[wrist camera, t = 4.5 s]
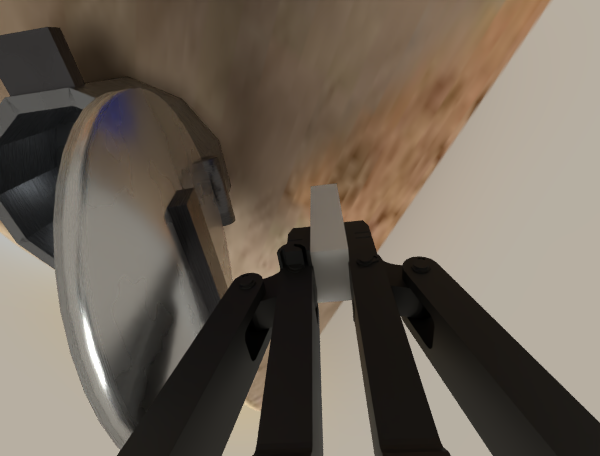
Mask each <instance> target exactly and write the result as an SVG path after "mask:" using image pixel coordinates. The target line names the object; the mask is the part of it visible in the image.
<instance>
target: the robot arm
mask: <svg viewBox="0 0 600 456" xmlns="http://www.w3.org/2000/svg"><path fill="white" fill-rule="evenodd" d="M277 256H278V260H279V265H280V272H279V273H277V274H275V275H273V276H271V277H268V278H265V279H262V276H260V275H259V274H256V273H247V274H243V275H241V276H239V277H237V278H236V279H235V280H234V281H233V282H232V283H231V285H230V286H229V288H228V289H227V291H226V292H225V294H224V295H223V297H222V299H221V300H220V302H219V303H218V305H217V306H216V308H215V309H214V311H213V312H212V314H211V315H210V317H209V318H208V320H207V321H206V323H205V324H204V326H203V327H202V329H201V330H200V332H199V333H198V335H197V336H196V338H195V339H194V341H193V342H192V344H191V345H190V347H189V348H188V350H187V351H186V353H185V354H184V356H183V357H182V359H181V360H180V362H179V363H178V365H177V366H176V368H175V369H174V371H173V372H172V374H171V375H170V377H169V378H168V380H167V381H166V383H165V384H164V386H163V387H162V389H161V390H160V392H159V393H158V395H157V396H156V398H155V399H154V401H153V402H152V404H151V405H150V407H149V408H148V410H147V411H146V413H145V414H144V416H143V417H142V419H141V420H140V422H139V423H138V425H137V426H136V428H135V429H134V431H133V432H132V434H131V435H130V437H129V438H128V440H127V441H126V443H125V444H124V446H123V447H122V449H121V450H120V452H119V453H118V455H117V456H222V453H223V451H224V448H225V446H226V444H227V441H228V439H229V437H230V434H231V432H232V430H233V427H234V425H235V423H236V420H237V418H238V415H239V413H240V411H241V408H242V406H243V404H244V401H245V399H246V396H247V394H248V392H249V389H250V387H251V384H252V382H253V380H254V377H255V375H256V373H257V370H258V368H259V365H260V363H261V361H262V358H263V356H264V354H265V351H266V349H267V346H268V344H269V342H270V339H271V342H270V350H269V357H268V365H267V372H266V379H265V387H264V394H263V401H262V409H261V417H260V424H259V431H258V439H257V445H256V451H255V453H254V455H252V456H323V432H322V398H321V368H320V367H321V366H320V331H319V309H318V303H321V302H333V301H346V300H352V305H353V318H354V322H355V327H356V334H357V340H358V347H359V354H360V360H361V367H362V374H363V380H364V387H365V393H366V401H367V407H368V414H369V420H370V427H371V434H372V440H373V447H374V454H375V456H450V453H449V452H448V451H447V450H446V449H445V448H444V447H443V446H442V444H441V441H440V438H439V436H438V433H437V430H436V426H435V423H434V420H433V417H432V414H431V411H430V408H429V404H428V402H427V398H426V395H425V392H424V389H423V386H422V383H421V379H420V376H419V373H418V370H417V367H416V364H415V361H414V358H413V354H412V351H411V348H410V345H409V342H408V339H407V336H406V333H405V329H404V327H403V324H402V320H403V321H404V323H405V324H406V326H407V327H408V329H409V330H410V332H411V333H412V335H413V336H414V338H415V339H416V341H417V342H418V344H419V345H420V347H421V348H422V350H423V351H424V353H425V354H426V356H427V357H428V359H429V360H430V362H431V363H432V365H433V366H434V368H435V369H436V371H437V372H438V374H439V375H440V377H441V378H442V380H443V381H444V383H445V384H446V386H447V387H448V389H449V390H450V392H451V393H452V395H453V396H454V398H455V399H456V401H457V402H458V404H459V406H460V407H461V409H462V410H463V411H464V413H465V414H466V416H467V418H468V419H469V421H470V422H471V423H472V425H473V427H474V428H475V430H476V431H477V432H478V434H479V436H480V437H481V439H482V440H483V442H484V443H485V444H486V446H487V448H488V449H489V450H490V452H491V454H492V455H493V456H600V423H599V422H598V421H597V420H596V419H595V418H594V417H593V416H592V415H591V414H590V413H589V412H588V411H587V410H586V409H585V408H584V407H583V406H582V405H581V404H580V403H579V402H578V401H577V400H576V399H575V398H574V397H573V396H572V395H571V394H570V393H569V392H568V391H567V390H566V389H565V388H564V387H563V386H562V385H561V384H560V383H559V382H558V381H557V380H556V379H555V378H554V377H553V376H551V374H549V373H548V372H547V371H546V370H545V369H544V368H543V367H542V366H541V365H540V364H539V363H538V362H537V361H536V360H535V359H534V358H533V357H532V356H531V355H530V354H529V353H528V352H527V351H526V350H525V349H524V348H523V347H522V346H521V345H520V344H519V343H518V342H517V341H516V340H515V339H514V338H513V337H512V336H511V335H510V334H509V333H508V332H507V331H506V330H505V329H503V327H502V326H501V325H500V324H499V323H498V322H496V320H495V319H493V318H492V317H491V316H490V315H489V314H488V313H487V312H486V311H485V310H484V309H483V308H482V307H481V306H480V305H479V304H478V303H477V302H476V301H475V300H474V299H473V298H472V297H471V296H470V295H469V294H468V293H467V292H466V291H465V290H464V289H463V288H462V287H461V286H460V285H459V284H458V283H457V282H456V281H455V280H454V279H453V278H452V277H451V276H450V275H449V274H448V273H447V272H446V271H445V270H443V268H441V266H440V265H438V264H437V263H436V262H435V261H433V260H432V259H429V258H426V257H411V258H409V259H407V260H406V261H405V262H404V263H403V265H395V264H390V263H387V262H385V261H383V260H382V259H381V257H380V256H379V255H378V254H377V252H376V248H375V245H374V242H373V239H372V236H371V232H370V229H369V226H368V225H367V224H366V223H365V222H364V221H363V220H362V221H352V222H343V217H342V211H341V205H340V200H339V194H338V188H337V183H336V184H328V185H319V186H311V221H310V227H303V228H293V229H292V230H291V232H290V233H289V234H288V242H287V244H286V245H283V246H282V247H281V248H279V250H278V252H277ZM400 316H401V317H402V320H401V317H400Z"/></svg>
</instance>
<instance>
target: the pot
mask: <svg viewBox="0 0 600 456" xmlns="http://www.w3.org/2000/svg"><path fill="white" fill-rule="evenodd" d="M0 79H1V80H2V82H3V84H4V86H5V87H6V89H7V91H8V93H9V94H10V96H11V97H5V98H4V99H3V101H2V102H1V104H0V220H1V221H2V223H3V224H4V226H5V227H6V228H7V230H8V231H9V233H10V234H11V235H12V237H13V238H14V239H15V241H16V242H17V243H18V244H19V245H20V246H22V247H23V248H25V249H26V250H28V251H29V252H31V253H32V254H33V255H35V256H36V257H38V258H39V259H41V260H42V261H44V262H45V263H46V264H48V265H49V266H51V267H52V268H54V269H55V267H54V237H53V218H54V205H55V192H56V183H57V178H58V173H59V168H60V163H61V158H62V153H63V150H64V148H65V145H66V142H67V139H68V137H69V134H70V131H71V129H72V127H73V125H74V123H75V122H76V120H77V119H78V117H79V115H80V114H81V112H82V110H83V109H84V108H85V107H86V106H87V105H88V104H89V103H90V102H91V101H93V100H94V99H95V98H96V97H99V96H101V95H103V94H105V93H107V92H113V91H120V90H126V89H134V88H142V89H145V90H149V91H151V92H153V93H154V94H156V95H158V96H159V97H160V98H161V99H162V100H164V101H165V102H166V103H167V104H168V105H169V106H170V107H171V109H172V110H173V111H174V112H175V113H176V115H177V116H178V117H179V119H180V120H181V122H182V123H183V125H184V126H185V128H186V130H187V131H188V133H189V135H190V137H191V139H192V141H193V142H194V144H195V146H196V148H197V151H198V153H199V155H200V157H201V159H202V162H203V164H204V167H205V169H206V172H207V175H208V177H209V180H210V183H211V186H212V189H213V192H214V195H215V198H216V202H217V205H218V209H219V212H220V216H221V220H222V224H223V226H226V225H229V224H232V223H233V222H234V221H235V216H234V212H233V209H232V205H231V201H230V198H229V191H230V187H231V184H230V180H229V177H228V173H227V169H226V166H225V162H224V158H223V154H222V151H221V147H220V143H219V140H218V139H217V138H216V137H215V136H214V135H213V134H212V132H211V131H210V130H209V129H208V128H207V127H206V126H205V125H204V124H203V122H202V121H201V120H200V119H199V118H198V117H197V116H196V115H195V113H194V112H193V111H192V110H191V109H190V108H189V107H188V106H187V105H186V103H185V102H184V101H183V100H182V99H181V98H178V97H176V96H173V95H171V94H168V93H166V92H164V91H161V90H159V89H156V88H154V87H152V86H149V85H147V84H144V83H142V82H140V81H137V80H135V79H132V78H130V77H123V78H117V79H110V80H104V81H98V82H91V83H84V81H83V78H82V76H81V74H80V72H79V69H78V67H77V65H76V63H75V60H74V58H73V56H72V54H71V51H70V49H69V47H68V45H67V42H66V40H65V38H64V36H63V34H62V31H61V29H60V28H56V27H45V28H39V29H33V30H28V31H22V32H17V33H11V34H5V35H0Z"/></svg>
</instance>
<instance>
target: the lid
mask: <svg viewBox="0 0 600 456" xmlns="http://www.w3.org/2000/svg"><path fill="white" fill-rule="evenodd" d="M53 237H54V267H55V274H56V282H57V289H58V297H59V304H60V311H61V315H62V320H63V323H64V328H65V332H66V336H67V340H68V345H69V349H70V353H71V356H72V359H73V361H74V364H75V367H76V370H77V373H78V376H79V378H80V381H81V384H82V387H83V390H84V392H85V394H86V396H87V398H88V400H89V402H90V404H91V406H92V408H93V410H94V412H95V414H96V416H97V418H98V420H99V422H100V424H101V425H102V426H103V428H104V429H105V431H106V432H107V433H108V435H109V436H110V438H111V439H112V440H113V442H114V443H115V445H116V446H117V447H118V448H119V449H120V450H121V449H122V447H123V446H124V444H125V443H126V441H127V440H128V438H129V437H130V435H131V434H132V432H133V431H134V429H135V428H136V426H137V425H138V423H139V422H140V420H141V419H142V417H143V416H144V414H145V413H146V411H147V410H148V408H149V407H150V405H151V404H152V402H153V401H154V399H155V398H156V396H157V395H158V393H159V392H160V390H161V389H162V387H163V386H164V384H165V383H166V381H167V380H168V378H169V377H170V375H171V374H172V372H173V371H174V369H175V368H176V366H177V365H178V363H179V362H180V360H181V359H182V357H183V356H184V354H185V353H186V351H187V350H188V348H189V347H190V345H191V344H192V342H193V341H194V339H195V338H196V336H197V335H198V333H199V332H200V330H201V329H202V327H203V326H204V324H205V323H206V321H207V320H208V318H209V317H210V315H211V314H212V312H213V311H214V309H215V308H216V306H217V305H218V303H219V302H220V300H221V299H222V297H223V295H224V294H225V292H226V291H227V289H228V288H229V286H230V285H231V283H232V282H233V279H232V272H231V265H230V259H229V253H228V248H227V243H226V238H225V233H224V229H223V224H222V220H221V216H220V212H219V209H218V205H217V202H216V198H215V195H214V192H213V189H212V186H211V183H210V180H209V177H208V175H207V172H206V169H205V167H204V164H203V162H202V159H201V157H200V155H199V153H198V151H197V148H196V146H195V144H194V142H193V141H192V139H191V137H190V135H189V133H188V131H187V130H186V128H185V126H184V125H183V123H182V122H181V120H180V119H179V117H178V116H177V115H176V113H175V112H174V111H173V110H172V109H171V107H170V106H169V105H168V104H167V103H166V102H165V101H164V100H162V99H161V98H160V97H159V96H158V95H156V94H154V93H153V92H151V91H149V90H145V89H142V88H134V89H126V90H120V91H113V92H107V93H105V94H103V95H101V96H99V97H96V98H95V99H94V100H93V101H91V102H90V103H89V104H88V105H87V106H86V107H85V108H84V109H83V110H82V112H81V114H80V115H79V117H78V119H77V120H76V122H75V123H74V125H73V127H72V129H71V131H70V134H69V137H68V139H67V142H66V145H65V148H64V150H63V153H62V158H61V163H60V168H59V173H58V178H57V183H56V192H55V205H54V218H53Z"/></svg>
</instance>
